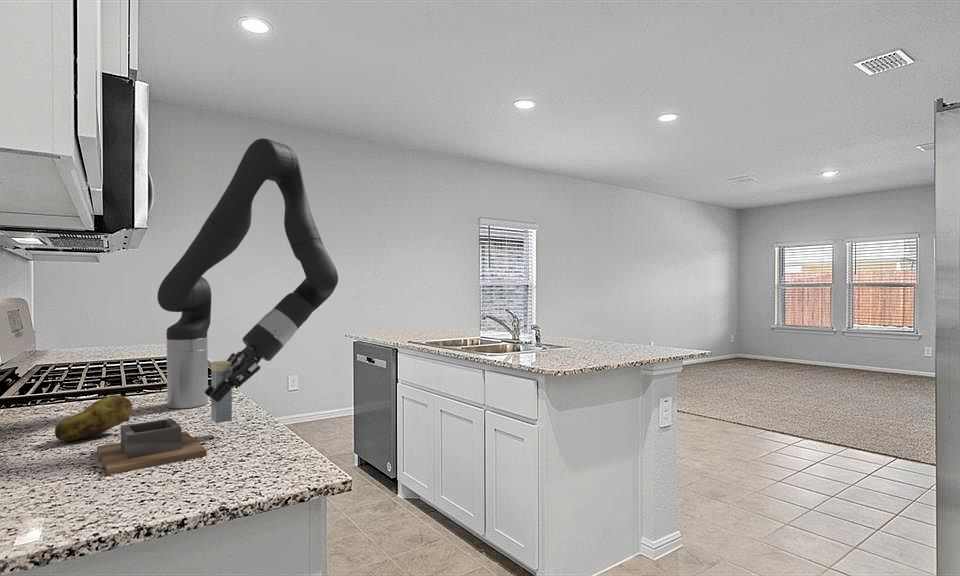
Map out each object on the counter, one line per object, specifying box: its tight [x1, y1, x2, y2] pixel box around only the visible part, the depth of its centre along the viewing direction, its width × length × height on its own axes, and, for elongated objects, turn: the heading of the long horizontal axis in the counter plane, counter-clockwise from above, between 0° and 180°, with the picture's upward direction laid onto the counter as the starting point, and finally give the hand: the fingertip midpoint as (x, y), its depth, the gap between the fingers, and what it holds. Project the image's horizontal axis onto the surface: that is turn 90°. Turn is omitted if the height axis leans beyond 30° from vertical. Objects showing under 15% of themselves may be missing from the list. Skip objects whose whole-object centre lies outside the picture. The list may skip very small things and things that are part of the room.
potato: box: [54, 394, 133, 443], centre depth 111 cm, size 8×13×8 cm, turn 123°
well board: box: [96, 418, 208, 476], centre depth 100 cm, size 16×15×5 cm
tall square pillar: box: [210, 360, 233, 424], centre depth 112 cm, size 4×3×12 cm
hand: (211, 397), depth 111 cm, fingers closed on tall square pillar, 3 cm apart
